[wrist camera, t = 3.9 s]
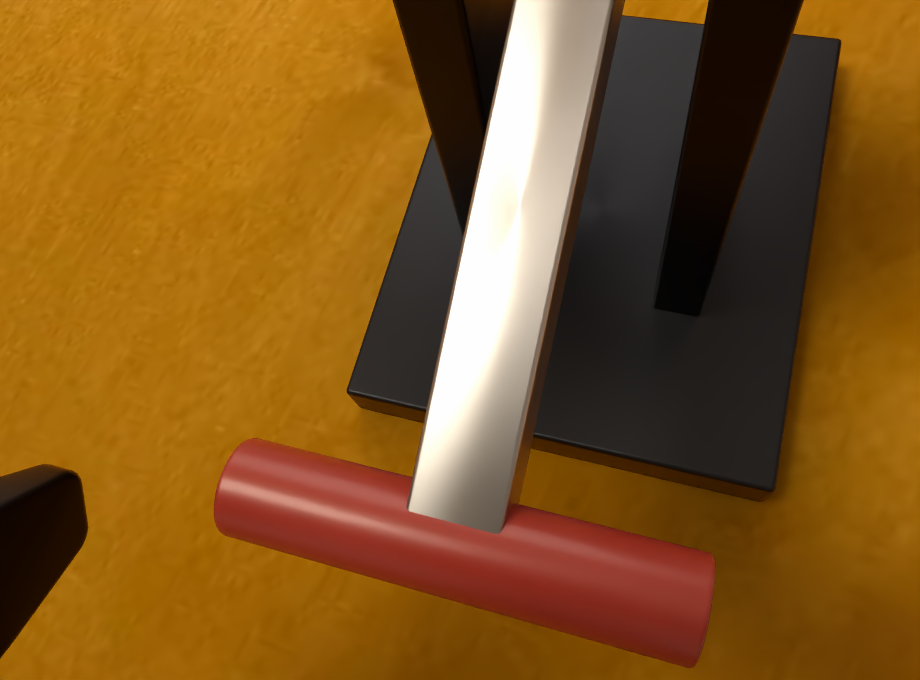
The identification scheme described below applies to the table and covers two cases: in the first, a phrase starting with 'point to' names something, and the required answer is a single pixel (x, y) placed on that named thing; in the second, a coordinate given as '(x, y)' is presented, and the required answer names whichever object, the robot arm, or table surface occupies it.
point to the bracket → (636, 239)
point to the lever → (494, 397)
